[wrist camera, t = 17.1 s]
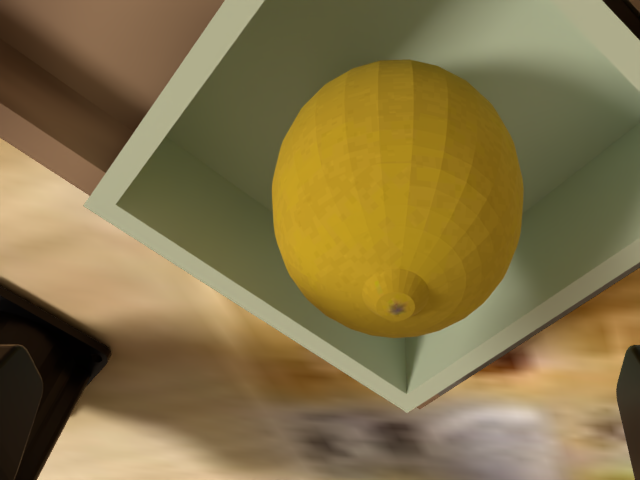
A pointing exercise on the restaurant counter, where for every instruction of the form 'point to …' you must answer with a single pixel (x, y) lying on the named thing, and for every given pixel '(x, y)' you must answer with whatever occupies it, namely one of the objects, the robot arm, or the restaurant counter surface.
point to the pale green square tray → (364, 48)
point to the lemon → (397, 199)
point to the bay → (118, 83)
